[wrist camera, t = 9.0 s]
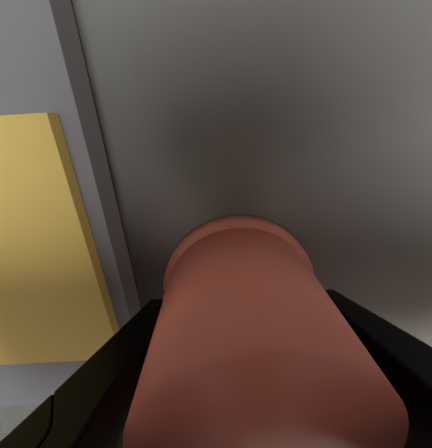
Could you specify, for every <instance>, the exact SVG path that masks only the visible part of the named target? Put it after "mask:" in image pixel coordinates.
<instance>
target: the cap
mask: <svg viewBox="0 0 432 448" xmlns="http://www.w3.org/2000/svg"><path fill="white" fill-rule="evenodd" d="M163 293H164V298H163V302H162V305H161V308H160V312H159V315H158V318H157V321H156V325H155V328H154V331H153V335H152V338H151V341H150V345H149V348H148V351H147V355H146V358H145V361H144V364H143V368H142V371H141V374H140V378H139V381H138V384H137V388H136V391H135V394H134V398H133V401H132V404H131V407H130V411H129V414H128V417H127V421H126V424H125V428H124V433H123V448H403V447H404V445H405V442H406V439H407V436H408V429H409V420H408V413H407V410H406V408H405V405H404V403H403V401H402V399H401V398H400V396H399V395H398V393H397V392H396V391H395V389H394V388H393V386H392V385H391V383H390V382H389V381H388V379H387V378H386V376H385V375H384V373H383V372H382V371H381V369H380V368H379V366H378V365H377V364H376V362H375V361H374V359H373V358H372V356H371V355H370V354H369V352H368V351H367V349H366V348H365V346H364V345H363V344H362V342H361V341H360V339H359V338H358V337H357V335H356V334H355V332H354V331H353V329H352V328H351V327H350V325H349V324H348V322H347V321H346V319H345V318H344V317H343V315H342V314H341V312H340V311H339V309H338V308H337V307H336V305H335V304H334V302H333V301H332V300H331V298H330V297H329V295H328V294H327V292H326V291H325V290H324V288H323V287H322V285H321V284H320V282H319V281H318V280H317V278H316V277H315V275H314V269H313V266H312V263H311V261H310V259H309V257H308V255H307V253H306V252H305V250H304V249H303V248H302V246H301V245H300V244H299V242H298V241H297V240H296V239H295V238H294V237H293V236H292V235H291V234H290V233H289V232H288V231H287V230H285V229H284V228H283V227H281V226H279V225H277V224H276V223H274V222H271V221H269V220H266V219H262V218H259V217H253V216H236V215H235V216H227V217H222V218H218V219H214V220H212V221H209V222H206V223H204V224H202V225H201V226H199V227H197V228H195V229H194V230H193V231H191V232H190V233H188V234H187V235H186V236H185V237H184V238H183V239H182V240H181V241H180V243H179V244H178V245H177V246H176V248H175V250H174V251H173V253H172V255H171V258H170V260H169V263H168V266H167V268H166V271H165V276H164V281H163Z"/></svg>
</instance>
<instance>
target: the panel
mask: <svg viewBox="0 0 432 448" xmlns="http://www.w3.org/2000/svg"><path fill="white" fill-rule="evenodd" d="M140 310H141V306H140V302H139V297H138V293H137V289H136V284H135V280H134V275H133V271H132V267H131V262H130V258H129V253H128V249H127V245H126V240H125V236H124V232H123V227H122V223H121V218H120V214H119V210H118V205H117V201H116V196H115V192H114V188H113V183H112V179H111V174H110V170H109V166H108V161H107V157H106V152H105V148H104V144H103V139H102V135H101V131H100V126H99V122H98V117H97V113H96V109H95V104H94V100H93V95H92V91H91V87H90V82H89V78H88V73H87V69H86V65H85V60H84V56H83V51H82V47H81V43H80V38H79V34H78V30H77V25H76V21H75V16H74V12H73V8H72V3H71V0H0V407H3V406H24V405H41V404H42V403H43V402H44V401H45V400H46V399H47V398H48V397H49V396H50V395H52V394H53V395H54V392H55V390H56V389H58V388H59V387H60V386H61V385H62V384H63V383H64V382H65V381H66V380H67V379H68V378H69V377H70V376H71V375H72V374H73V373H74V372H75V371H76V370H78V369H79V368H80V367H81V366H82V365H83V364H84V363H85V362H86V361H87V360H88V359H89V358H90V357H91V356H92V355H93V354H94V353H95V352H96V351H98V350H99V349H100V348H101V347H102V346H103V345H104V344H105V343H106V342H107V341H108V340H109V339H110V338H111V337H112V336H113V335H114V334H115V333H116V332H118V331H119V330H120V329H121V328H122V327H123V326H124V325H125V324H126V323H127V322H128V321H129V320H130V319H131V318H132V317H133V316H134V315H135V314H136V313H137V312H139V311H140Z"/></svg>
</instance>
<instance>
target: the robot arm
mask: <svg viewBox="0 0 432 448" xmlns="http://www.w3.org/2000/svg"><path fill="white" fill-rule="evenodd" d="M325 291H326V292H327V294H328V295H329V297H330V298H331V300H332V301H333V302H334V304H335V305H336V307H337V308H338V309H339V311H340V312H341V314H342V315H343V317H344V318H345V319H346V321H347V322H348V324H349V325H350V327H351V328H352V329H353V331H354V332H355V334H356V335H357V337H358V338H359V339H360V341H361V342H362V344H363V345H364V346H365V348H366V349H367V351H368V352H369V354H370V355H371V356H372V358H373V359H374V361H375V362H376V364H377V365H378V366H379V368H380V369H381V371H382V372H383V373H384V375H385V376H386V378H387V379H388V381H389V382H390V383H391V385H392V386H393V388H394V389H395V391H396V392H397V393H398V395H399V396H400V398H401V399H402V401H403V403H404V405H405V408H406V410H407V413H408V420H409V429H408V436H407V439H406V442H405V445H404V447H403V448H432V347H431V346H429V345H427V344H426V343H424V342H422V341H420V340H419V339H417V338H415V337H413V336H412V335H410V334H408V333H407V332H405V331H403V330H401V329H400V328H398V327H396V326H395V325H393V324H391V323H389V322H388V321H386V320H384V319H383V318H381V317H379V316H377V315H376V314H374V313H372V312H371V311H369V310H367V309H365V308H364V307H362V306H360V305H358V304H357V303H355V302H353V301H352V300H350V299H348V298H346V297H345V296H343V295H341V294H340V293H338V292H336V291H334V290H331V289H329V290H325ZM162 302H163V299H153V300H150V301H149V302H148V303H147V304H146V305H145V306H144V307H143V308H142V309H141V310H140V311H139V312H137V313H136V314H135V315H134V316H133V317H132V318H131V319H130V320H129V321H128V322H127V323H126V324H125V325H124V326H123V327H122V328H121V329H120V330H119V331H118V332H116V333H115V334H114V335H113V336H112V337H111V338H110V339H109V340H108V341H107V342H106V343H105V344H104V345H103V346H102V347H101V348H100V349H99V350H98V351H96V352H95V353H94V354H93V355H92V356H91V357H90V358H89V359H88V360H87V361H86V362H85V363H84V364H83V365H82V366H81V367H80V368H79V369H78V370H76V371H75V372H74V373H73V374H72V375H71V376H70V377H69V378H68V379H67V380H66V381H65V382H64V383H63V384H62V385H61V386H60V387H59V388H58V389H56V390H55V392H54V395H53V394H52V395H50V396H49V397H48V398H47V399H46V400H45V401H44V402H43V403H42V404H41V405H39V406H38V407H37V408H36V409H35V410H34V411H33V412H32V413H31V414H30V415H29V416H28V417H27V418H26V419H24V420H23V421H22V422H21V423H20V424H19V425H18V426H17V427H16V428H15V429H14V430H12V431H11V432H10V433H9V434H8V435H7V436H6V437H5V438H4V439H2V440H1V441H0V448H123V433H124V428H125V424H126V421H127V417H128V414H129V411H130V407H131V404H132V401H133V398H134V394H135V391H136V388H137V384H138V381H139V378H140V374H141V371H142V368H143V364H144V361H145V358H146V355H147V351H148V348H149V345H150V341H151V338H152V335H153V331H154V328H155V325H156V321H157V318H158V315H159V312H160V308H161V305H162Z"/></svg>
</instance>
